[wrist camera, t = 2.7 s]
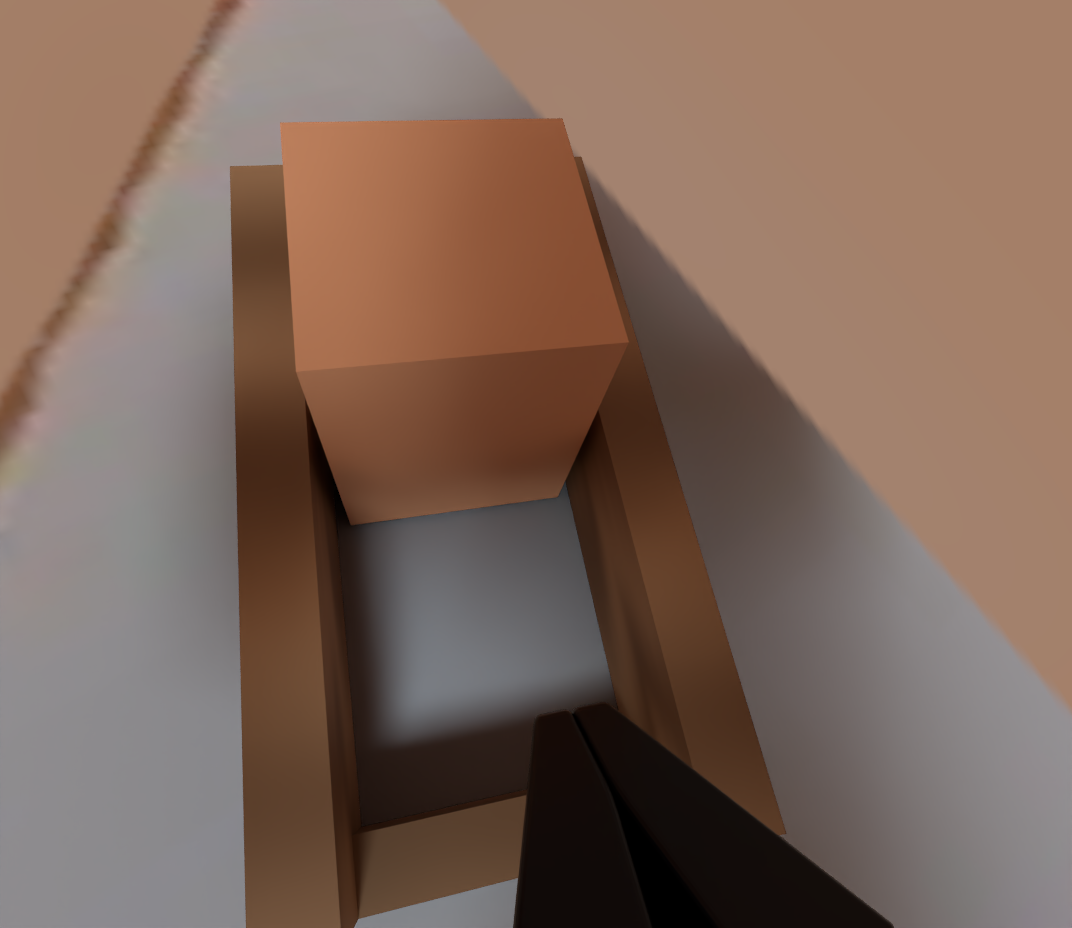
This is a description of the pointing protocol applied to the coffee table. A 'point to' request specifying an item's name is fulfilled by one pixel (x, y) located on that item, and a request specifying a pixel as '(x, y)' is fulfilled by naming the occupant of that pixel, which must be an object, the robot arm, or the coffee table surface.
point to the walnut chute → (320, 639)
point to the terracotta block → (446, 309)
